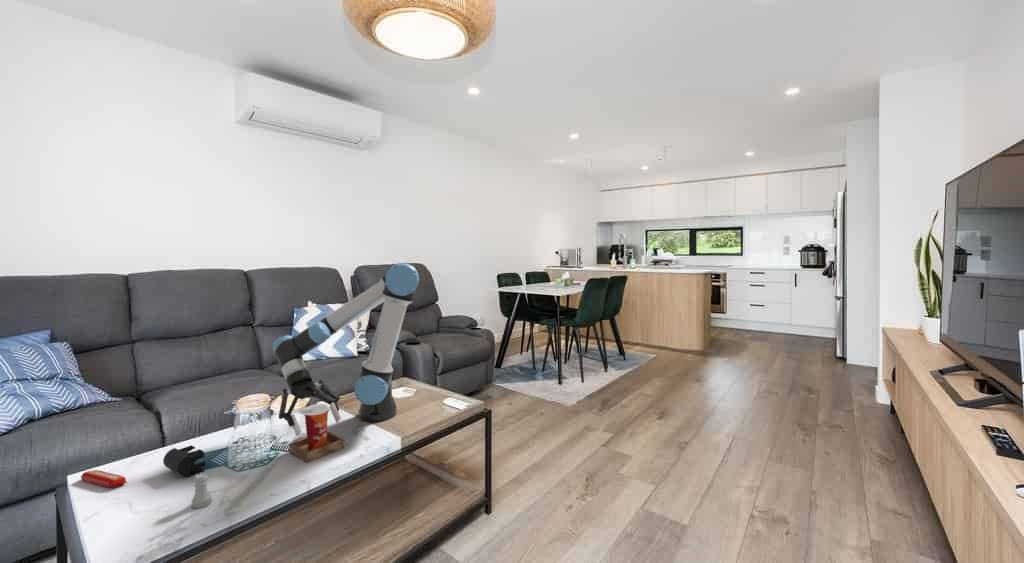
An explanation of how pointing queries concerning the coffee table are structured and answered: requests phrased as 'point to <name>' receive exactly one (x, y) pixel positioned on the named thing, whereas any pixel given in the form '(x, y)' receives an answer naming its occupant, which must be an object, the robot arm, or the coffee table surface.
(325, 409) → the paper cup
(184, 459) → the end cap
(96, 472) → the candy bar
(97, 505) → the coffee table surface
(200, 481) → the rook chess piece
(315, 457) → the tray
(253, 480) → the coffee table surface
